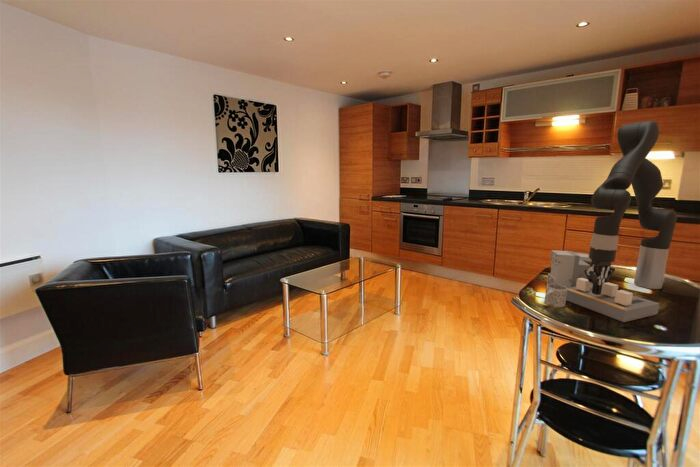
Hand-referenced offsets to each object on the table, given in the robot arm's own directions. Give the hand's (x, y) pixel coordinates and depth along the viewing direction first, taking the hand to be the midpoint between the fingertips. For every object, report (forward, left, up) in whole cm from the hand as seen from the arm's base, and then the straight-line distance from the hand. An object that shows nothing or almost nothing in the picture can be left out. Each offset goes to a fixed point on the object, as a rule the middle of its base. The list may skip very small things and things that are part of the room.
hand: (596, 294), depth 124 cm
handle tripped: (-7, 0, -1) cm, 7 cm away
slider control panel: (-7, 0, -6) cm, 9 cm away
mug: (+11, -8, -6) cm, 15 cm away
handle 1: (-3, -7, -1) cm, 8 cm away
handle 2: (-3, +7, -1) cm, 8 cm away
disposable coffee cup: (-25, -24, -6) cm, 35 cm away
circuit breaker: (-12, -19, -6) cm, 23 cm away
